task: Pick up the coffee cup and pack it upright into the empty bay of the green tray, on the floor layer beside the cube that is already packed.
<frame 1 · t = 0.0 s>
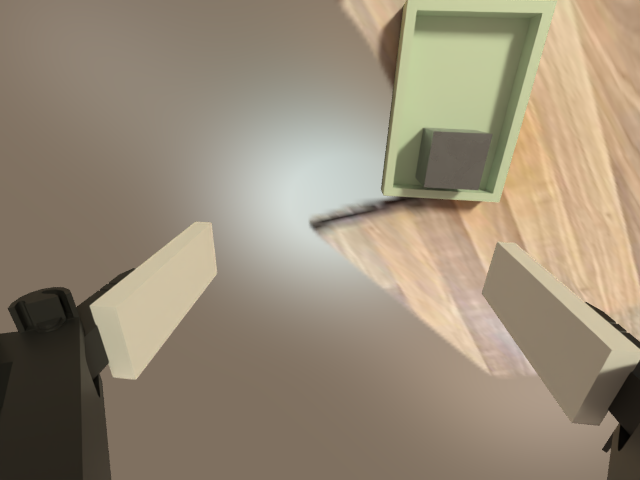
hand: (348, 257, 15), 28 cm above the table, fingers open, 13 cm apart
green tray: (450, 110, 37), on the table
cube: (443, 154, 38), point 1 cm above the table, touching green tray
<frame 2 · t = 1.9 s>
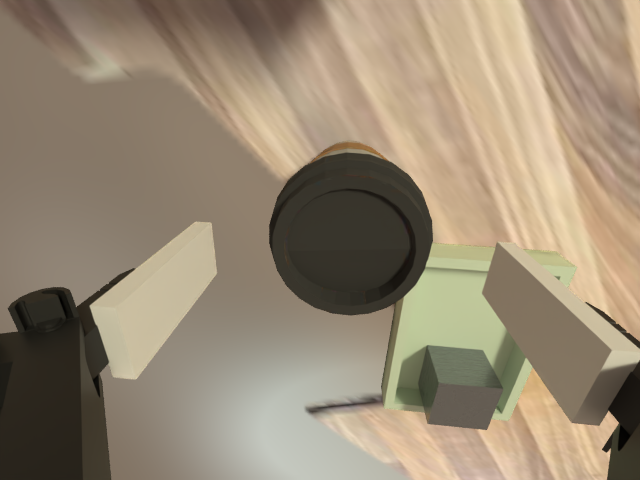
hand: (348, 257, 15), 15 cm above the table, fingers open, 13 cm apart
green tray: (456, 328, 34), on the table
coffee cup: (348, 176, 28), on the table
cube: (449, 367, 35), point 1 cm above the table, touching green tray
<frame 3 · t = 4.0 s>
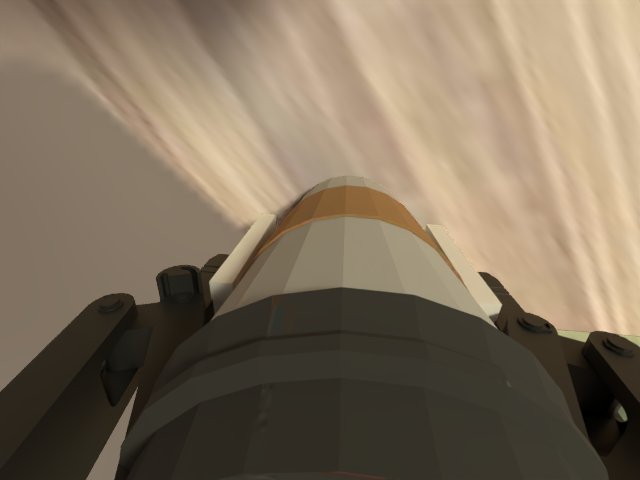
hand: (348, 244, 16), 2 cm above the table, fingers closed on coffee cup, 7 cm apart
green tray: (502, 432, 24), on the table
coffee cup: (348, 227, 18), on the table, touching gripper
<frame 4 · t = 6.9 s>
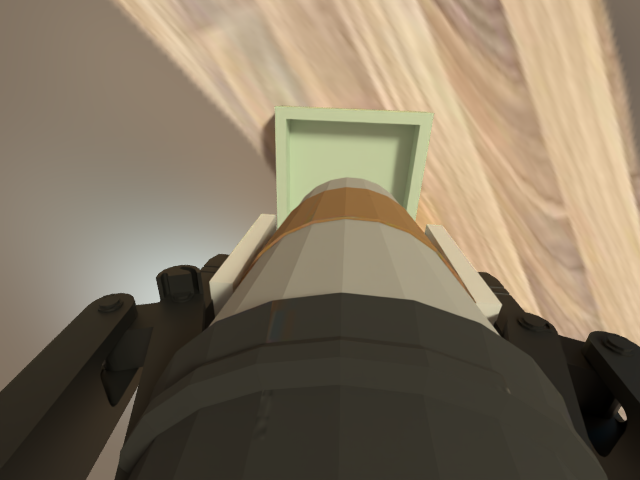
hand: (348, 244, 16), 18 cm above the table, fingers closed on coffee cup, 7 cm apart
green tray: (345, 207, 34), on the table
coffee cup: (348, 228, 18), point 16 cm above the table, touching gripper
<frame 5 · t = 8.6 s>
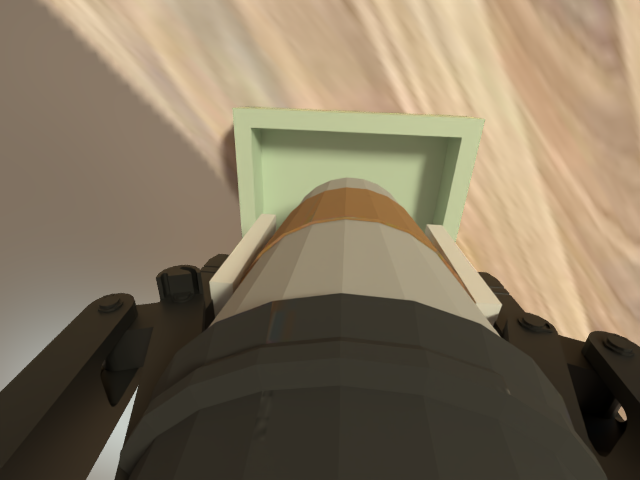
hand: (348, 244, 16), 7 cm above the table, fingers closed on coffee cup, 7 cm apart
green tray: (343, 250, 24), on the table
coffee cup: (348, 228, 18), point 5 cm above the table, touching gripper
when the fingers open (5 cm above the table, at t = 10.0 s): coffee cup drops 2 cm, resting on green tray.
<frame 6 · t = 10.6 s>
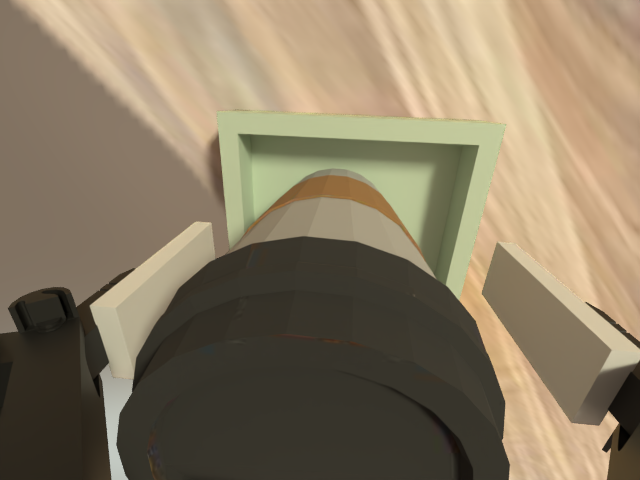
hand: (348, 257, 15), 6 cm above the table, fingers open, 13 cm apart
green tray: (343, 267, 22), on the table
coffee cup: (334, 216, 20), point 1 cm above the table, touching green tray
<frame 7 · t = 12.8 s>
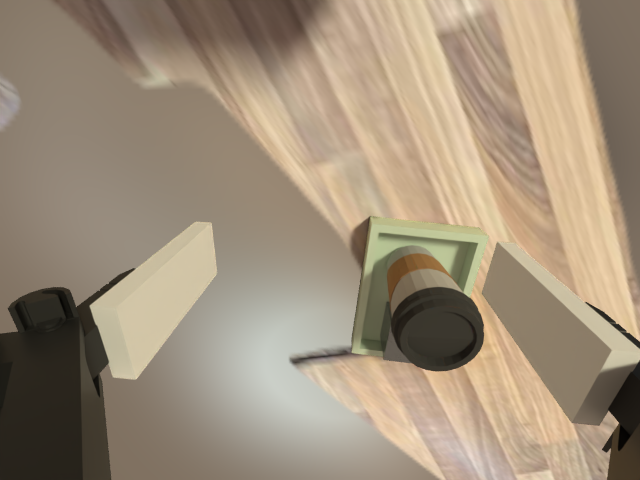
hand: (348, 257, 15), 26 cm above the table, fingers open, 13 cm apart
green tray: (409, 288, 44), on the table
coffee cup: (409, 264, 42), point 1 cm above the table, touching green tray
cube: (403, 321, 45), point 1 cm above the table, touching green tray
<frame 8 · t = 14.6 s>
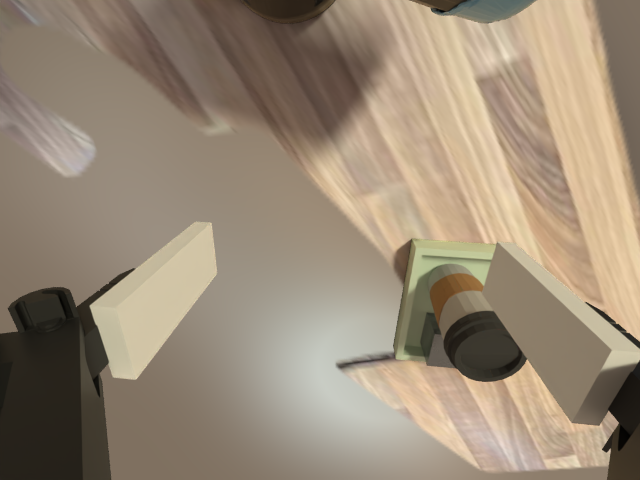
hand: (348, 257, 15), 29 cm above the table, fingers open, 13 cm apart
green tray: (447, 300, 48), on the table
coffee cup: (448, 279, 46), point 1 cm above the table, touching green tray
cube: (442, 329, 50), point 1 cm above the table, touching green tray
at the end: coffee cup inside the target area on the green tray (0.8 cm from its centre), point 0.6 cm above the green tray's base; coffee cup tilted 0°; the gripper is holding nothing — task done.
